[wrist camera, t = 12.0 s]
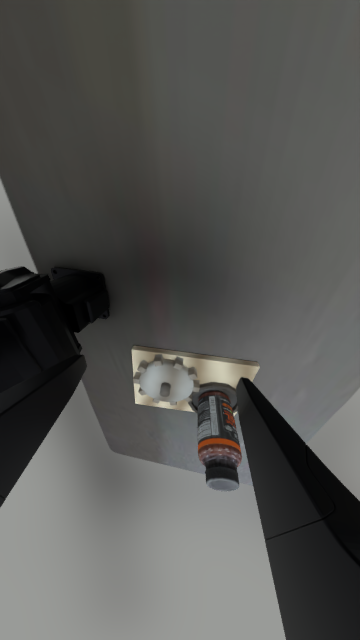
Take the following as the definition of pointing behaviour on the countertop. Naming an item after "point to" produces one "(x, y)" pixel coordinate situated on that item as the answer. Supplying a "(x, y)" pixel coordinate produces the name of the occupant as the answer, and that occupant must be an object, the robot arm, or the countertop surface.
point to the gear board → (203, 373)
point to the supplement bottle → (218, 441)
